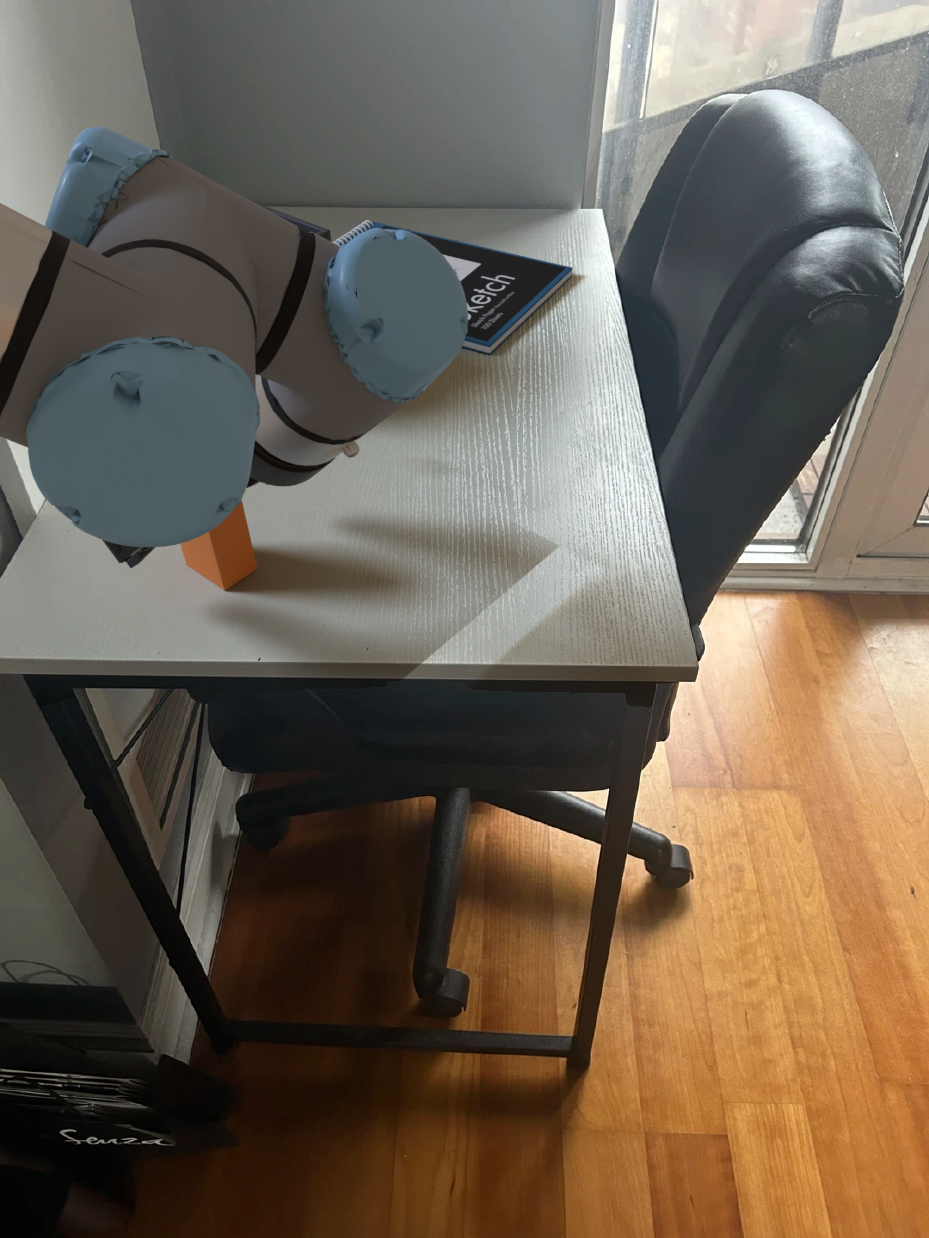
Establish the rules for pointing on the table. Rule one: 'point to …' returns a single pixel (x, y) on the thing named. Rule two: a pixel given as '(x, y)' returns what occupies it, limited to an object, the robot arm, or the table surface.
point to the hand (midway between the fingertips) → (195, 508)
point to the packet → (223, 551)
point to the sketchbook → (491, 285)
